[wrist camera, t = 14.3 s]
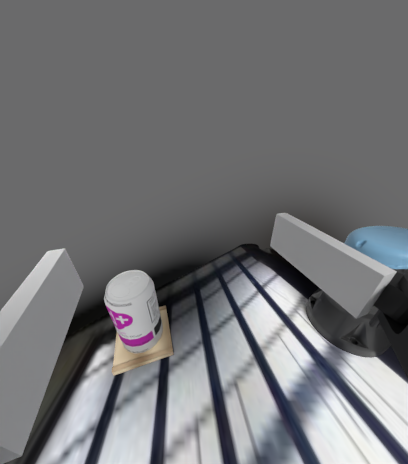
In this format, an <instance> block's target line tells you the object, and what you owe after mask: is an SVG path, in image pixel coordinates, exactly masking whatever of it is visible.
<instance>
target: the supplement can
mask: <svg viewBox="0 0 408 464" xmlns="http://www.w3.org/2000/svg"><path fill="white" fill-rule="evenodd" d="M104 301H105V304H106V307H107V309H108V311H109V314H110V316H111V318H112V321H113V323H114V325H115V327H116V330H117V332H118V334H119V337H120V339H121V341H122V343H123V346H124V348H125V349H126V350H127V351H128V352H131V353H135V354H136V353H143V352H146V351H148V350H150V349H151V348H152V347H153V346H155V345H156V344H157V342H158V341H159V339H160V338H161V335H162V332H163V325H162V320H161V315H160V310H159V306H158V301H157V296H156V292H155V287H154V282H153V281H152V279H151V278H150V277H149V276H148V275H147V274H146V273H144V272H143V271H139V270H130V271H127V272H123V273H121V274H119V275H117V276H116V277H114V278H113V279H112V280H111V281H110V282H109V284H108V285H107V287H106V293H105V297H104Z"/></svg>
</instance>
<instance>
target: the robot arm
mask: <svg viewBox="0 0 408 464" xmlns="http://www.w3.org/2000/svg"><path fill="white" fill-rule="evenodd" d="M270 246H271V247H272V248H273V249H274V250H275V251H277V252H278V253H279V254H280V255H281V256H283V257H284V258H285V259H286V260H287V261H288V262H290V263H291V264H292V265H293V266H294V267H296V268H297V269H298V270H299V271H300V272H301V273H303V274H304V275H305V276H306V277H307V278H309V279H310V280H311V281H312V282H313V283H314V284H316V285H317V286H318V287H319V289H318V290H316V291H315V292H314V293H313V294H312V295H311V296H310V298H309V300H308V303H307V306H306V310H307V315H308V317H309V319H310V321H311V323H312V324H313V326H314V327H315V328H316V330H317V331H318V332H319V333H320V334H321V335H322V336H323V337H324V338H326V339H327V340H328V341H329V342H331V343H332V344H334V345H335V346H337V347H339V348H340V349H342V350H344V351H346V352H349V353H351V354H354V355H358V356H362V357H377V356H380V355H382V354H383V353H384V352H385V351H386V350H387V349H388V348H389V347H390V345H391V346H392V348H393V350H394V352H395V354H396V356H397V358H398V360H399V362H400V364H401V366H402V368H403V370H404V372H405V374H406V376H407V378H408V229H405V228H399V227H390V226H370V227H363V228H359V229H357V230H355V231H353V232H351V233H350V234H349V235H348V237H347V239H346V241H345V243H342V242H340V241H338V240H336V239H334V238H332V237H331V236H329V235H327V234H325V233H323V232H321V231H319V230H317V229H315V228H314V227H312V226H310V225H308V224H306V223H304V222H302V221H300V220H298V219H296V218H295V217H293V216H291V215H289V214H287V213H280V214H277V215H276V220H275V224H274V229H273V234H272V239H271V244H270ZM83 287H84V286H83V284H82V282H81V280H80V278H79V276H78V274H77V272H76V270H75V268H74V266H73V263H72V262H71V259H70V257H69V255H68V253H67V252H66V249H65V248H64V249H58V250H52V251H47V253H46V254H45V255H44V256H43V258H42V259H41V260H40V261H39V263H38V264H37V265H36V267H35V268H34V269H33V270H32V272H31V273H30V274H29V276H28V277H27V278H26V279H25V281H24V282H23V283H22V284H21V286H20V287H19V288H18V289H17V291H16V292H15V293H14V295H13V296H12V297H11V298H10V300H9V301H8V302H7V303H6V305H5V306H4V307H3V309H2V310H1V311H0V464H3V463H6V462H8V461H11V460H13V459H15V458H18V457H20V456H22V454H23V451H24V448H25V446H26V443H27V440H28V437H29V435H30V432H31V429H32V426H33V424H34V421H35V418H36V416H37V413H38V410H39V407H40V405H41V402H42V399H43V396H44V394H45V391H46V388H47V385H48V383H49V380H50V377H51V374H52V372H53V369H54V366H55V364H56V361H57V358H58V355H59V353H60V350H61V347H62V344H63V342H64V339H65V336H66V333H67V331H68V328H69V325H70V322H71V320H72V317H73V314H74V312H75V309H76V306H77V303H78V301H79V298H80V295H81V292H82V290H83Z"/></svg>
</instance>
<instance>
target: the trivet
mask: <svg viewBox="0 0 408 464" xmlns="http://www.w3.org/2000/svg"><path fill="white" fill-rule="evenodd" d="M159 310H160V315H161V320H162V325H163V332H162V335H161V338H160V339H159V341H158V342H157V344H156V345H155V346H153V347H152V348H151V349H150V350H148V351H146V352H143V353H136V354H135V353H131V352H128V351H127V350H126V349H125V348H124V346H123V343H122V341H121V339H120V337H119V334H118V332H117V335H116V344H115V353H114V362H113V367H112V373H113V375H117V374H119V373H122V372H125V371H128V370H131V369H134V368H137V367H139V366H142V365H145V364H148V363H151V362H154V361H156V360H159V359H162V358H165V357H168V356H171V355H174V354H173V348H172V341H171V335H170V329H169V322H168V316H167V310H166V306H162V307H159Z"/></svg>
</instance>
